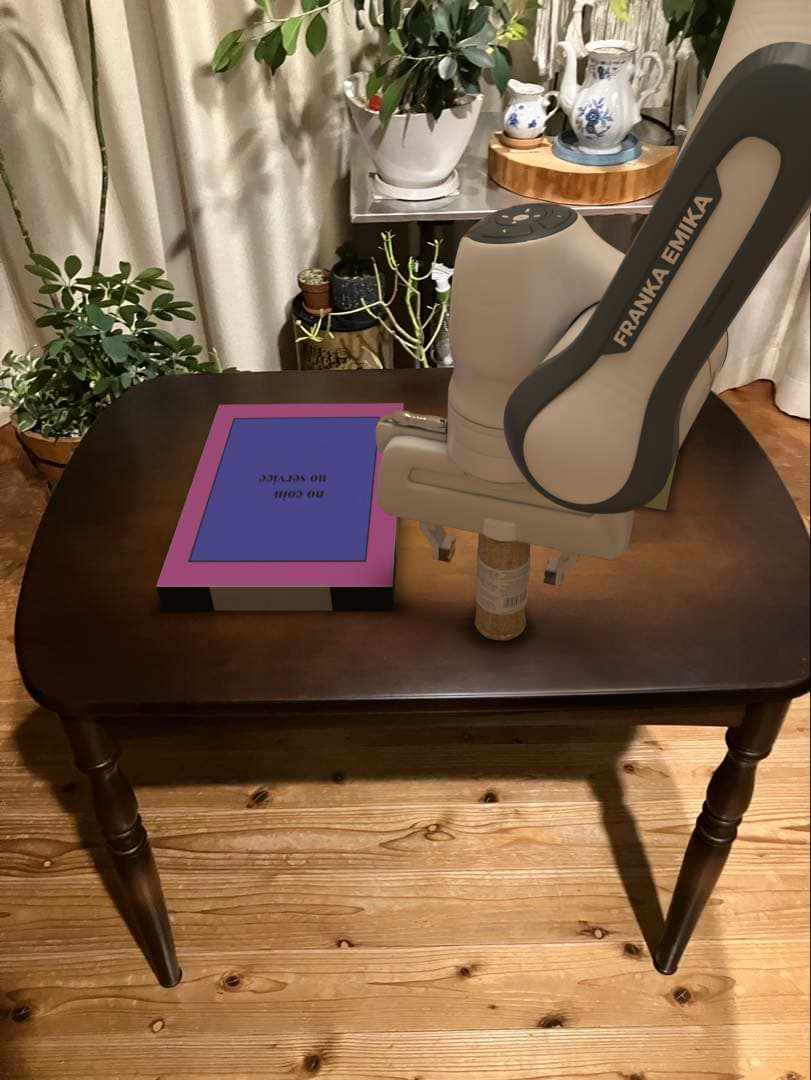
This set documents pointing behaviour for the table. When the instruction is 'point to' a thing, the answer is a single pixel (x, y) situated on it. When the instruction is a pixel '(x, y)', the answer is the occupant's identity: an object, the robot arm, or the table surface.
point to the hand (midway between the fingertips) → (498, 568)
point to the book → (285, 514)
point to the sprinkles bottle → (501, 581)
